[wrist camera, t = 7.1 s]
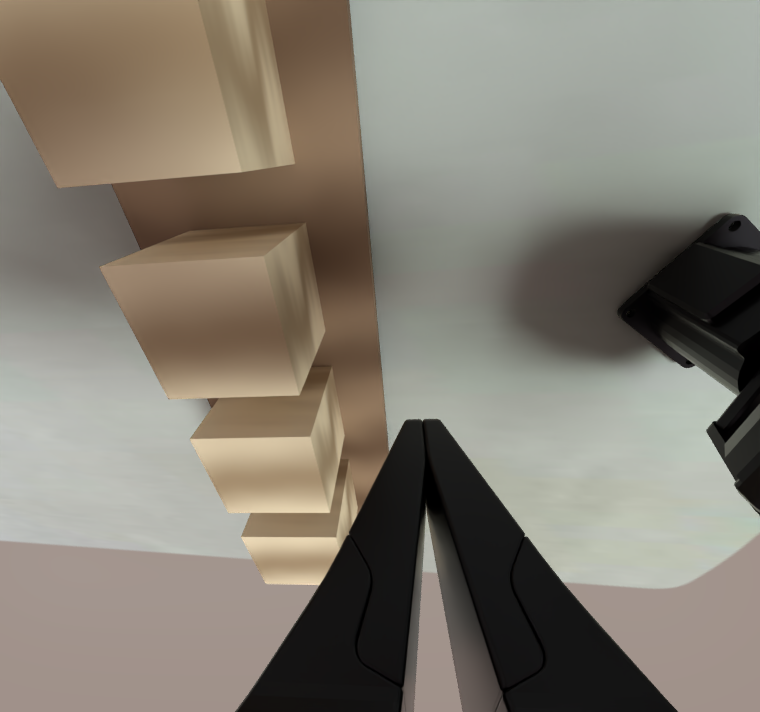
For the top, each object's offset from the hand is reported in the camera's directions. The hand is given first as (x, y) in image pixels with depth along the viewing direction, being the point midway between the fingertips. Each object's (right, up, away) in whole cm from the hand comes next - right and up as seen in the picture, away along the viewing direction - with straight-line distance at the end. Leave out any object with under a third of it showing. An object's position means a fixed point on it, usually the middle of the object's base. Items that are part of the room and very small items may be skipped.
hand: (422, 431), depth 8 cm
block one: (-8, +13, +5) cm, 16 cm away
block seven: (-7, +6, +10) cm, 14 cm away
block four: (-6, -9, +19) cm, 22 cm away
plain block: (-7, -1, +14) cm, 16 cm away
